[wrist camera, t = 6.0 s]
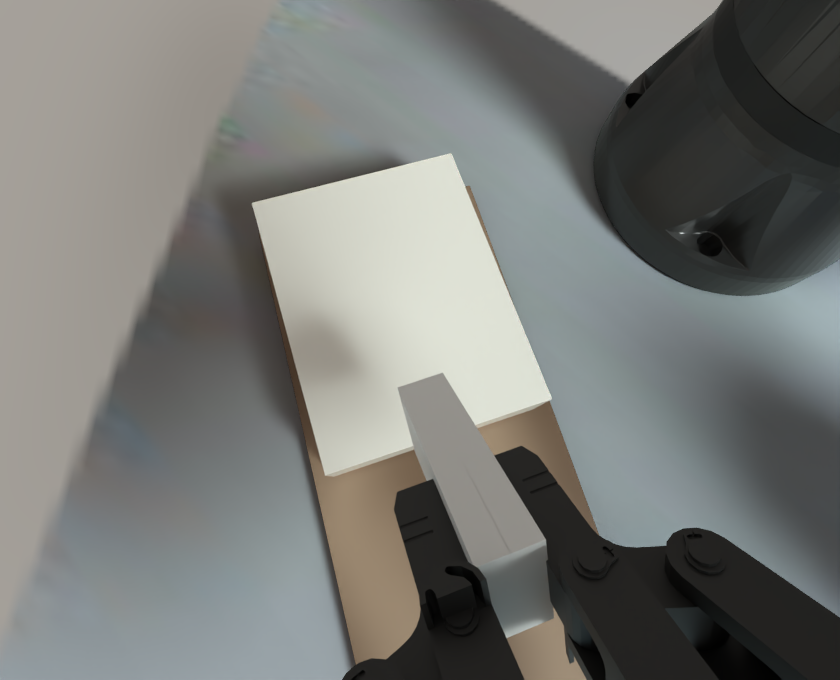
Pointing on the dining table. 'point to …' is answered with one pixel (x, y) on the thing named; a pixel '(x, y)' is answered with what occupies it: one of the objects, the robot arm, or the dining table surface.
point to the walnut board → (383, 545)
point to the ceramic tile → (393, 307)
